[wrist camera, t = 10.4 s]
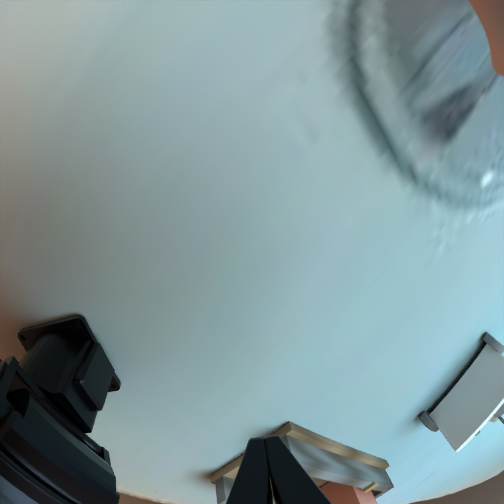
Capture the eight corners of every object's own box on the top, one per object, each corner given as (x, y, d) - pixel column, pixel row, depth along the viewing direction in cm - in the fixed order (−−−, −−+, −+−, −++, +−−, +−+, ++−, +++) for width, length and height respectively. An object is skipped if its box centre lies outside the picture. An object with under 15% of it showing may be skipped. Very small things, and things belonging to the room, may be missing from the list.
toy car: (563, 399, 21) (507, 465, 24) (523, 363, 31) (475, 424, 33) (543, 380, 16) (458, 475, 19) (482, 329, 26) (415, 413, 28)
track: (210, 475, 26) (213, 509, 22) (289, 421, 24) (301, 460, 20) (319, 502, 32) (327, 527, 28) (386, 460, 30) (400, 485, 26)
